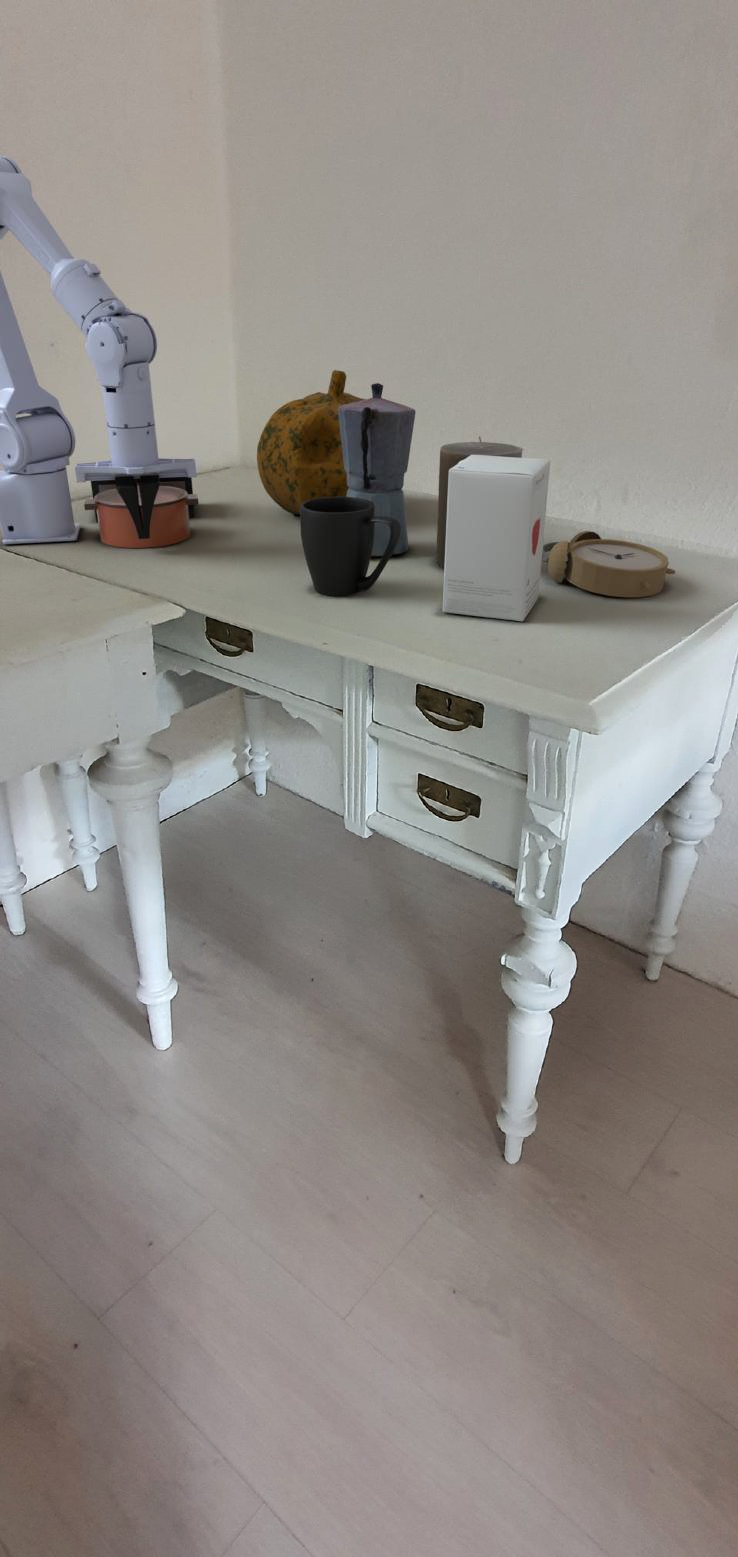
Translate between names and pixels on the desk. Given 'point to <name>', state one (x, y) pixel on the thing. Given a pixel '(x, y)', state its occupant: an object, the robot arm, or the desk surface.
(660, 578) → the alarm clock
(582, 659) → the desk surface
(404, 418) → the moka pot
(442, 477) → the pillar candle
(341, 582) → the mug
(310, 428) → the decorative pumpkin
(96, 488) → the appliance
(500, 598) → the rectangular carton
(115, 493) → the saucepan
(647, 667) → the desk surface
